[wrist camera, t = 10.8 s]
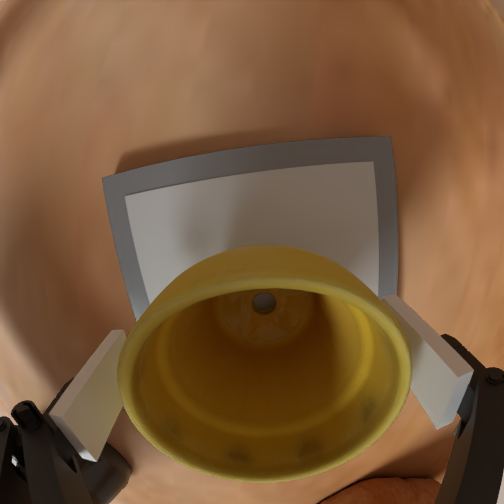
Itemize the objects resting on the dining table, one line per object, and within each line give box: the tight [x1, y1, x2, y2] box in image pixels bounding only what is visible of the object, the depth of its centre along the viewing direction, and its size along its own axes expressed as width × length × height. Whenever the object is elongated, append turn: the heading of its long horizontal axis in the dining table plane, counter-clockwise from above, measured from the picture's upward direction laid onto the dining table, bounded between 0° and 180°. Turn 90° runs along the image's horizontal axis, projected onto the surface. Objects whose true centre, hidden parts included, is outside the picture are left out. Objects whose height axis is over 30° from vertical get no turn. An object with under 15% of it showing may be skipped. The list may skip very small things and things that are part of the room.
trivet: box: [102, 137, 398, 321], centre depth 18 cm, size 18×18×2 cm
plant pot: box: [117, 245, 413, 483], centre depth 13 cm, size 10×10×10 cm
